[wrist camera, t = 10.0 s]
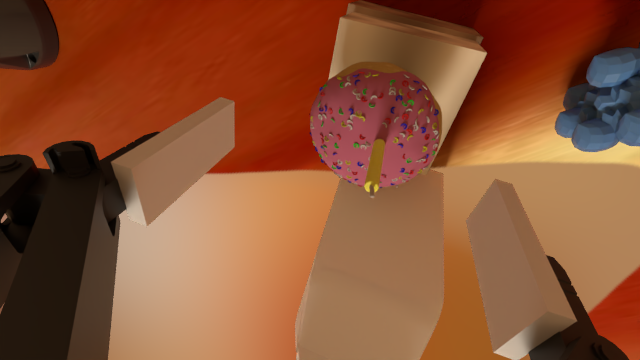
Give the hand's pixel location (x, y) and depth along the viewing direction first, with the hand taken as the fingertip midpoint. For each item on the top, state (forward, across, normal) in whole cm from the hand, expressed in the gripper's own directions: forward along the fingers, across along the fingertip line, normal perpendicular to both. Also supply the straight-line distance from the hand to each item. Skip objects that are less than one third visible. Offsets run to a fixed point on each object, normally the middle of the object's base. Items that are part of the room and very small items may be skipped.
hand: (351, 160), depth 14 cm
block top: (+15, -1, 0) cm, 15 cm away
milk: (+21, -5, +16) cm, 27 cm away
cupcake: (+10, -1, 0) cm, 10 cm away
